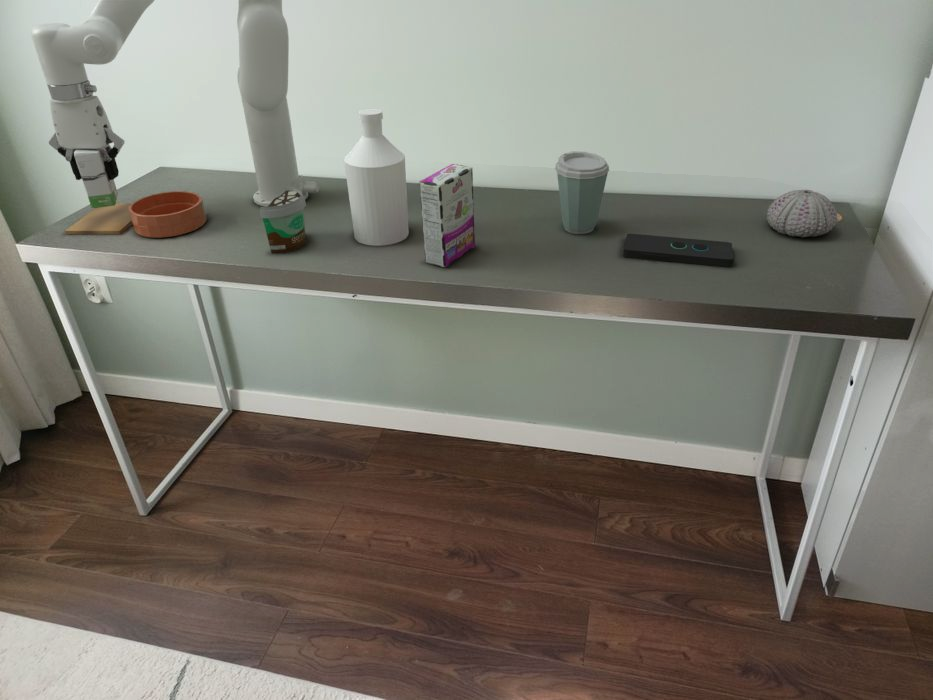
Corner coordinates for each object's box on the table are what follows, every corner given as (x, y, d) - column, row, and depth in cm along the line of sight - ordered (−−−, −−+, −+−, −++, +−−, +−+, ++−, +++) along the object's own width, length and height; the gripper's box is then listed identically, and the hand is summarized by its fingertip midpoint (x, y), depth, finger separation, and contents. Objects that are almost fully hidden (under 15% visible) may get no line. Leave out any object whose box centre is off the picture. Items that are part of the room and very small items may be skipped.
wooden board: (152, 206, 162) (151, 203, 161) (120, 234, 148) (119, 230, 148) (102, 206, 163) (101, 203, 162) (66, 234, 149) (64, 230, 149)
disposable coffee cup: (613, 227, 146) (620, 156, 138) (584, 243, 140) (589, 170, 131) (572, 215, 152) (576, 146, 144) (542, 230, 146) (544, 159, 138)
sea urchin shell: (760, 236, 141) (768, 198, 137) (767, 212, 151) (775, 176, 147) (832, 246, 136) (843, 207, 132) (834, 222, 146) (844, 185, 142)
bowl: (216, 212, 158) (211, 191, 155) (191, 238, 146) (185, 216, 143) (152, 212, 159) (146, 191, 156) (122, 238, 146) (115, 216, 144)
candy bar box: (454, 242, 142) (452, 162, 133) (475, 247, 139) (474, 166, 130) (423, 263, 134) (417, 180, 125) (444, 269, 131) (441, 184, 122)
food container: (297, 258, 137) (289, 209, 131) (268, 256, 138) (258, 208, 132) (320, 233, 147) (313, 187, 141) (293, 231, 148) (285, 185, 142)
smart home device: (733, 259, 128) (623, 249, 133) (732, 267, 129) (622, 257, 134) (732, 241, 135) (627, 232, 140) (730, 249, 136) (626, 240, 141)
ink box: (115, 206, 150) (99, 151, 144) (90, 209, 149) (72, 154, 143) (118, 193, 157) (102, 140, 151) (94, 195, 156) (77, 143, 150)
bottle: (379, 251, 139) (366, 123, 125) (341, 235, 145) (325, 113, 132) (421, 233, 146) (414, 110, 132) (383, 219, 153) (373, 100, 139)
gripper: (121, 86, 143) (144, 172, 153) (39, 87, 144) (68, 172, 154) (103, 95, 137) (129, 183, 147) (18, 96, 138) (49, 183, 148)
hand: (97, 177), depth 150 cm, fingers closed on ink box, 6 cm apart
